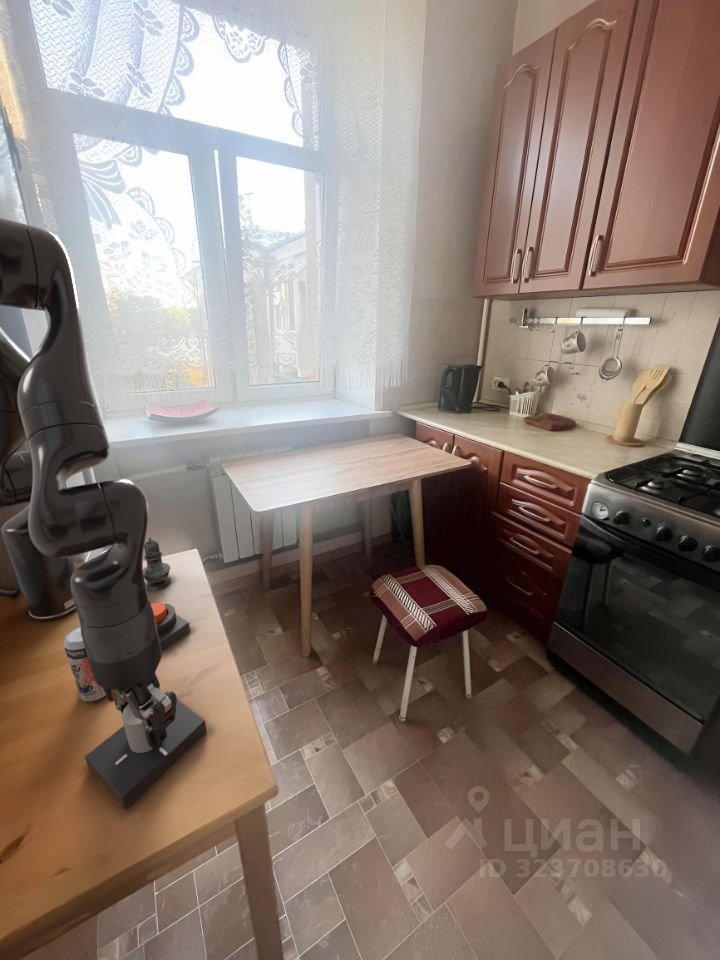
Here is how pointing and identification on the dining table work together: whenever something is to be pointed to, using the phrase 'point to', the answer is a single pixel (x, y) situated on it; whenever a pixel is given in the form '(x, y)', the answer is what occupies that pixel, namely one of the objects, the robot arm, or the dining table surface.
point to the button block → (171, 628)
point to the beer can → (81, 666)
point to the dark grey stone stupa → (155, 567)
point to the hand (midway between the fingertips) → (146, 732)
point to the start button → (159, 611)
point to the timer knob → (135, 731)
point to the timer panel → (143, 757)
